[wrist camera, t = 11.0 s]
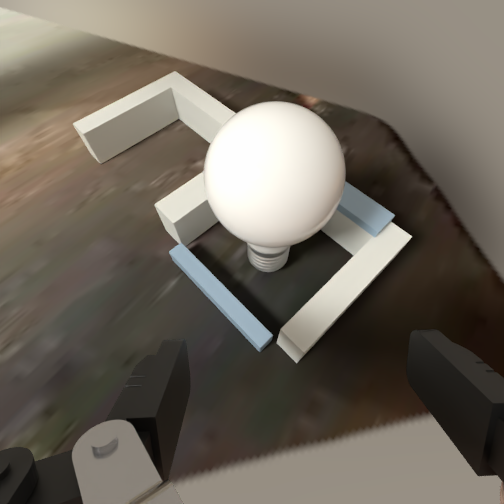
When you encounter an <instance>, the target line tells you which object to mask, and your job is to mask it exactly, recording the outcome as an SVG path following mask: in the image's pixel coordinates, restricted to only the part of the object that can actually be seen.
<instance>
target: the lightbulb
mask: <svg viewBox="0 0 504 504" xmlns="http://www.w3.org/2000/svg"><path fill="white" fill-rule="evenodd" d="M345 178H346V167H345V160H344V155H343V151H342V148H341V146H340V143H339V141H338V139H337V137H336V135H335V134H334V132H333V131H332V129H331V128H330V127H329V126H328V125H327V123H326V122H325V121H324V120H323V119H321V118H320V117H319V116H318V115H316V114H315V113H314V112H312V111H310V110H309V109H307V108H304V107H302V106H300V105H297V104H293V103H289V102H281V101H271V102H263V103H258V104H255V105H252V106H249V107H247V108H245V109H243V110H241V111H239V112H238V113H236V114H235V115H233V116H232V117H231V118H230V119H228V120H227V121H226V122H225V123H224V124H223V125H222V127H221V128H220V129H219V130H218V132H217V133H216V135H215V136H214V138H213V140H212V142H211V144H210V146H209V149H208V151H207V155H206V159H205V164H204V188H205V193H206V197H207V200H208V202H209V205H210V207H211V209H212V211H213V213H214V215H215V216H216V218H217V219H218V220H219V222H220V223H221V224H222V225H223V226H224V227H225V228H226V229H227V230H228V231H229V232H230V233H232V234H233V235H234V236H236V237H238V238H239V239H241V240H243V241H245V242H246V243H247V248H248V249H247V250H248V259H249V261H250V263H251V264H252V265H253V266H254V267H255V268H256V269H258V270H260V271H264V272H273V271H276V270H279V269H280V268H282V267H283V266H284V265H285V263H286V262H287V259H288V255H289V250H290V246H291V245H294V244H297V243H300V242H302V241H304V240H306V239H308V238H310V237H311V236H313V235H314V234H316V233H317V232H318V231H319V230H320V229H322V228H323V227H324V226H325V225H326V223H327V222H328V221H329V220H330V219H331V217H332V216H333V214H334V213H335V211H336V209H337V207H338V205H339V203H340V201H341V198H342V195H343V191H344V187H345Z"/></svg>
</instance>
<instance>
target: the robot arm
mask: <svg viewBox="0 0 504 504" xmlns="http://www.w3.org/2000/svg"><path fill="white" fill-rule="evenodd" d="M406 372H407V377H408V381H409V383H410V385H411V387H412V388H413V390H414V391H415V392H416V394H417V395H418V396H419V398H420V399H421V400H422V402H423V403H424V405H425V406H426V407H427V409H428V410H429V411H430V413H431V414H432V415H433V417H434V418H435V419H436V421H437V422H438V423H439V425H440V426H441V427H442V428H443V430H444V431H445V433H446V434H447V435H448V436H449V438H450V439H451V441H452V442H453V443H454V445H455V446H456V447H457V449H458V450H459V451H460V453H461V454H462V455H463V457H464V458H465V459H466V461H467V462H468V463H469V465H470V466H471V467H472V469H473V470H474V471H475V473H476V474H477V475H478V476H490V475H498V477H499V478H500V479H501V480H502V483H501V488H500V504H504V378H503V377H502V376H500V375H499V374H498V373H497V372H494V370H493V369H492V368H491V367H490V366H488V365H487V364H484V362H483V361H482V360H481V359H480V358H479V357H477V356H476V355H475V354H474V353H473V352H471V351H469V350H467V349H466V348H464V347H462V346H460V345H458V344H456V343H452V342H451V341H450V340H449V339H448V338H447V337H445V336H444V335H443V334H442V333H441V332H440V331H438V330H436V329H429V330H413V331H412V332H411V334H410V341H409V349H408V358H407V368H406ZM189 393H190V371H189V362H188V353H187V344H186V340H185V339H179V340H163V342H162V344H161V346H160V348H159V350H158V352H157V354H156V355H147V356H146V357H145V358H144V359H143V360H142V361H140V362H139V363H138V364H137V365H136V367H135V368H134V370H133V372H132V374H131V376H130V378H129V379H128V381H127V383H126V385H125V388H123V390H122V392H121V394H120V396H119V397H118V399H117V401H116V403H115V405H114V406H113V408H112V410H111V412H110V414H109V415H108V417H107V419H106V421H105V422H103V423H101V424H98V425H96V426H95V427H93V428H91V429H90V430H88V431H87V432H86V433H85V434H84V435H83V436H82V437H81V438H80V439H79V440H78V441H77V443H76V444H75V446H74V448H73V450H70V451H67V452H65V453H61V454H58V455H55V456H51V457H48V458H45V459H42V460H38V461H34V457H33V454H32V452H31V451H30V450H29V449H27V448H23V447H14V448H9V449H5V450H2V451H0V504H184V503H183V501H182V500H181V498H180V496H179V494H178V492H177V491H176V489H175V487H174V485H173V484H172V483H171V481H170V480H168V478H169V474H170V470H171V466H172V462H173V458H174V454H175V450H176V446H177V442H178V438H179V434H180V430H181V426H182V422H183V418H184V414H185V410H186V406H187V402H188V398H189Z"/></svg>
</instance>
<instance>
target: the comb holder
mask: <svg viewBox="0 0 504 504" xmlns="http://www.w3.org/2000/svg"><path fill="white" fill-rule="evenodd" d="M235 114H236V113H235V112H233V111H232V110H230V109H229V108H227V107H226V106H225V105H223V104H222V103H220V102H219V101H217V100H216V99H214V98H213V97H212V96H210V95H209V94H207V93H206V92H204V91H203V90H202V89H200V88H199V87H197V86H196V85H194V84H193V83H192V82H190V81H189V80H187V79H186V78H184V77H183V76H182V75H180V74H179V73H177V72H176V71H174V72H172V73H170V74H168V75H166V76H164V77H162V78H161V79H159V80H157V81H155V82H153V83H151V84H149V85H147V86H145V87H143V88H141V89H139V90H137V91H135V92H133V93H131V94H129V95H127V96H126V97H124V98H122V99H120V100H118V101H116V102H114V103H112V104H110V105H108V106H106V107H104V108H102V109H100V110H98V111H96V112H94V113H93V114H91V115H89V116H87V117H85V118H83V119H81V120H79V121H77V122H75V123H73V125H74V127H75V128H76V130H77V132H78V133H79V135H80V137H81V138H82V140H83V142H84V143H85V145H86V147H87V148H88V150H89V152H90V153H91V155H92V156H93V157H94V158H95V159H96V160H97V161H98V162H99V163H100V164H102V163H104V162H105V161H107V160H109V159H111V158H112V157H114V156H116V155H118V154H119V153H121V152H123V151H124V150H126V149H128V148H130V147H131V146H133V145H135V144H136V143H138V142H140V141H142V140H143V139H145V138H147V137H148V136H150V135H152V134H154V133H155V132H157V131H159V130H161V129H162V128H164V127H166V126H167V125H169V124H171V123H173V122H174V121H176V120H178V119H180V120H181V121H182V122H184V123H185V124H186V125H188V126H189V127H190V128H191V129H193V130H194V131H195V132H197V133H198V134H199V135H200V136H202V137H203V138H204V139H205V140H207V141H208V142H209V143H211V142H212V140H213V138H214V136H215V135H216V133H217V132H218V130H219V129H220V128H221V127H222V125H223V124H224V123H225V122H226V121H227V120H228V119H230V118H231V117H232V116H233V115H235ZM154 205H155V207H156V209H157V212H158V214H159V216H160V218H161V220H162V223H163V225H164V227H165V229H166V231H167V232H168V233H169V234H170V235H171V236H172V237H173V238H174V239H175V240H176V241H177V242H178V243H179V245H177V246H176V247H175V248H173V249H172V250H171V251H169V253H170V255H171V257H172V259H173V261H174V262H175V263H176V264H177V265H178V266H179V267H180V268H181V269H182V270H183V271H184V273H185V274H186V275H187V276H188V277H189V278H190V279H191V280H192V281H193V282H194V283H195V284H196V285H197V286H198V287H199V288H200V290H201V291H202V292H203V293H204V294H205V295H206V296H207V297H208V298H209V299H210V300H211V301H212V302H213V303H214V304H215V305H216V306H217V308H218V309H219V310H220V311H221V312H222V313H223V314H224V315H225V316H226V317H227V318H228V319H229V320H230V321H231V322H232V323H233V325H234V326H235V327H236V328H237V329H238V330H239V331H240V332H241V333H242V334H243V335H244V336H245V337H246V338H247V339H248V340H249V342H250V343H251V344H252V345H253V346H254V347H255V348H256V349H257V350H258V351H259V352H261V351H262V350H263V349H264V348H265V347H266V346H267V345H268V344H269V343H270V342H271V341H272V337H273V335H272V334H271V333H270V332H269V331H268V330H267V329H266V328H265V327H264V326H263V325H262V324H261V323H260V322H259V321H258V320H257V319H256V318H255V317H254V316H253V315H252V314H251V313H250V312H249V311H248V310H247V309H246V308H245V307H244V306H243V305H242V304H241V303H240V302H239V301H238V300H237V299H236V298H235V297H234V296H233V294H232V293H231V292H230V291H229V290H228V289H227V288H226V287H225V286H224V285H223V284H222V283H221V282H220V281H219V280H218V279H217V278H216V277H215V276H214V275H213V274H212V273H211V272H210V271H209V270H208V269H207V268H206V267H205V266H204V265H203V264H202V263H201V262H200V261H199V260H198V259H197V258H196V257H195V256H194V255H193V254H192V253H191V252H190V251H189V250H188V249H187V248H186V247H185V246H186V245H188V244H189V243H190V242H192V241H193V240H194V239H196V238H197V237H198V236H200V235H201V234H202V233H204V232H205V231H206V230H208V229H209V228H210V227H211V226H213V225H214V224H215V223H217V222H218V221H219V220H218V219H217V218H216V216H215V215H214V213H213V211H212V209H211V207H210V205H209V202H208V200H207V197H206V193H205V188H204V171H203V172H202V173H200V174H199V175H197V176H196V177H194V178H193V179H192V180H190V181H189V182H187V183H186V184H184V185H183V186H181V187H180V188H178V189H177V190H175V191H174V192H172V193H171V194H169V195H168V196H166V197H165V198H163V199H162V200H160V201H159V202H157V203H156V204H154ZM394 216H395V215H394V214H393V213H391V212H390V211H388V210H387V209H385V208H384V207H382V206H381V205H379V204H378V203H376V202H375V201H374V200H372V199H371V198H369V197H368V196H366V195H365V194H363V193H362V192H360V191H359V190H358V189H356V188H355V187H353V186H352V185H350V184H349V183H347V182H346V181H345V187H344V191H343V195H342V198H341V201H340V203H339V205H338V207H337V209H336V211H335V213H334V214H333V216H332V217H331V219H330V220H329V221H328V222H327V223H326V225H325V226H324V227H323V228H322V229H320V230H322V231H323V232H324V233H326V234H327V235H328V236H329V237H331V238H332V239H333V240H334V241H336V242H337V243H338V244H340V245H341V246H342V247H343V248H345V249H346V250H347V251H349V252H350V253H351V254H352V255H354V256H353V257H352V258H351V259H350V260H349V261H348V262H347V263H346V264H345V265H344V266H343V267H342V268H341V269H340V270H339V271H338V272H337V273H336V274H335V275H334V276H333V277H332V278H331V279H330V280H329V281H328V282H327V283H326V284H325V285H324V286H323V287H322V288H321V289H320V290H319V291H318V292H317V293H316V294H315V295H314V296H313V297H312V298H311V299H310V300H309V301H308V302H307V303H306V304H305V305H304V306H303V307H302V308H301V309H300V310H299V311H298V312H297V313H296V314H295V315H294V316H293V317H292V318H291V319H290V320H289V321H288V322H287V323H286V324H285V325H284V326H283V327H282V328H281V329H280V333H279V336H278V340H277V344H278V345H279V346H280V347H281V348H282V349H283V350H284V351H285V352H286V353H287V354H288V355H289V356H290V357H291V358H292V359H293V360H294V361H295V362H296V363H298V362H299V360H300V359H301V358H302V357H303V356H304V355H305V354H306V353H307V352H308V351H309V350H310V349H311V348H312V346H313V345H314V344H315V343H316V342H317V341H318V340H319V339H320V338H321V337H322V336H323V335H324V334H325V332H326V331H327V330H328V329H329V328H330V327H331V326H332V325H333V324H334V323H335V322H336V321H337V319H338V318H339V317H340V316H341V315H342V314H343V313H344V312H345V311H346V310H347V309H348V308H349V307H350V305H351V304H352V303H353V302H354V301H355V300H356V299H357V298H358V297H359V296H360V295H361V294H362V293H363V291H364V290H365V289H366V288H367V287H368V286H369V285H370V284H371V283H372V282H373V281H374V280H375V278H376V277H377V276H378V275H379V274H380V273H381V272H382V271H383V270H384V269H385V268H386V267H387V266H388V264H389V263H390V262H391V261H392V260H393V259H394V258H395V257H396V255H397V254H398V253H399V252H400V251H401V249H402V248H403V247H404V246H405V245H406V244H407V242H408V241H409V240H410V239H411V238H412V236H411V235H409V234H408V233H406V232H405V231H404V230H402V229H401V228H399V227H398V226H396V225H395V224H394V223H392V222H391V221H392V219H393V218H394Z"/></svg>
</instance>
